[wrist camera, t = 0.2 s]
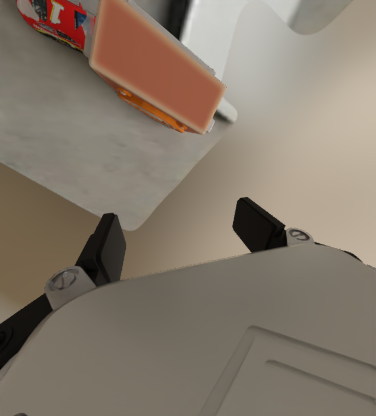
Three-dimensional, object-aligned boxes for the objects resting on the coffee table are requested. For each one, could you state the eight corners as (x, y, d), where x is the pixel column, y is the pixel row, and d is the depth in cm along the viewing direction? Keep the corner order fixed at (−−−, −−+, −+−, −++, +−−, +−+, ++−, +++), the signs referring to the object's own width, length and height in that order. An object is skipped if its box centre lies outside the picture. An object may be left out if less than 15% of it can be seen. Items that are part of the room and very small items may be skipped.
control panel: (179, 135, 36) (117, 99, 30) (192, 105, 34) (126, 60, 28) (209, 146, 18) (68, 64, 12) (241, 84, 16) (83, -59, 10)
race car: (119, 34, 26) (115, 20, 23) (116, 71, 28) (111, 63, 25) (23, -22, 21) (-1, -49, 18) (28, 28, 23) (7, 12, 20)
